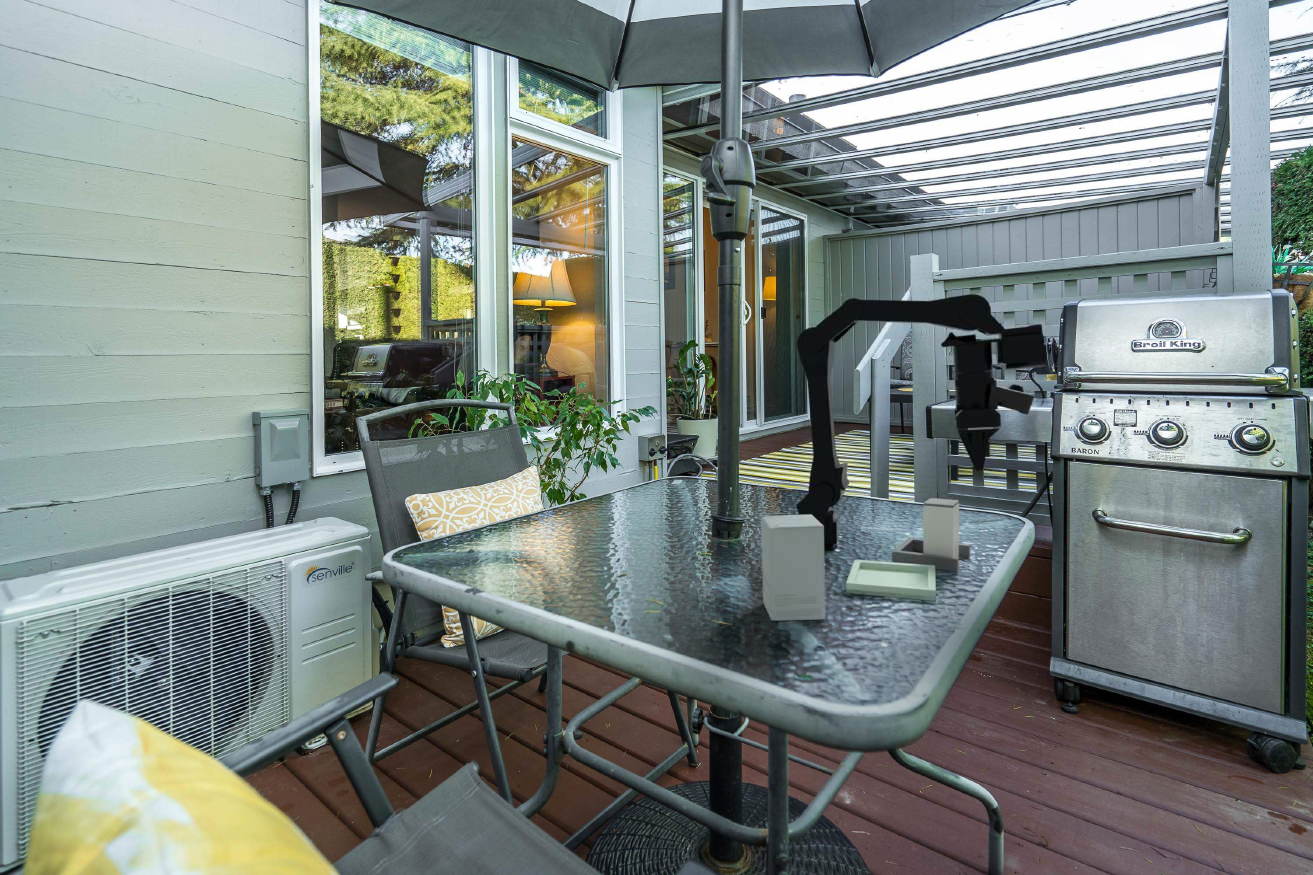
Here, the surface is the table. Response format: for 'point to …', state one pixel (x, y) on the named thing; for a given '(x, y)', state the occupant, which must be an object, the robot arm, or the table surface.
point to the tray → (892, 580)
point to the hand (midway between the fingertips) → (978, 466)
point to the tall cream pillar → (941, 527)
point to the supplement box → (793, 567)
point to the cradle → (927, 555)
